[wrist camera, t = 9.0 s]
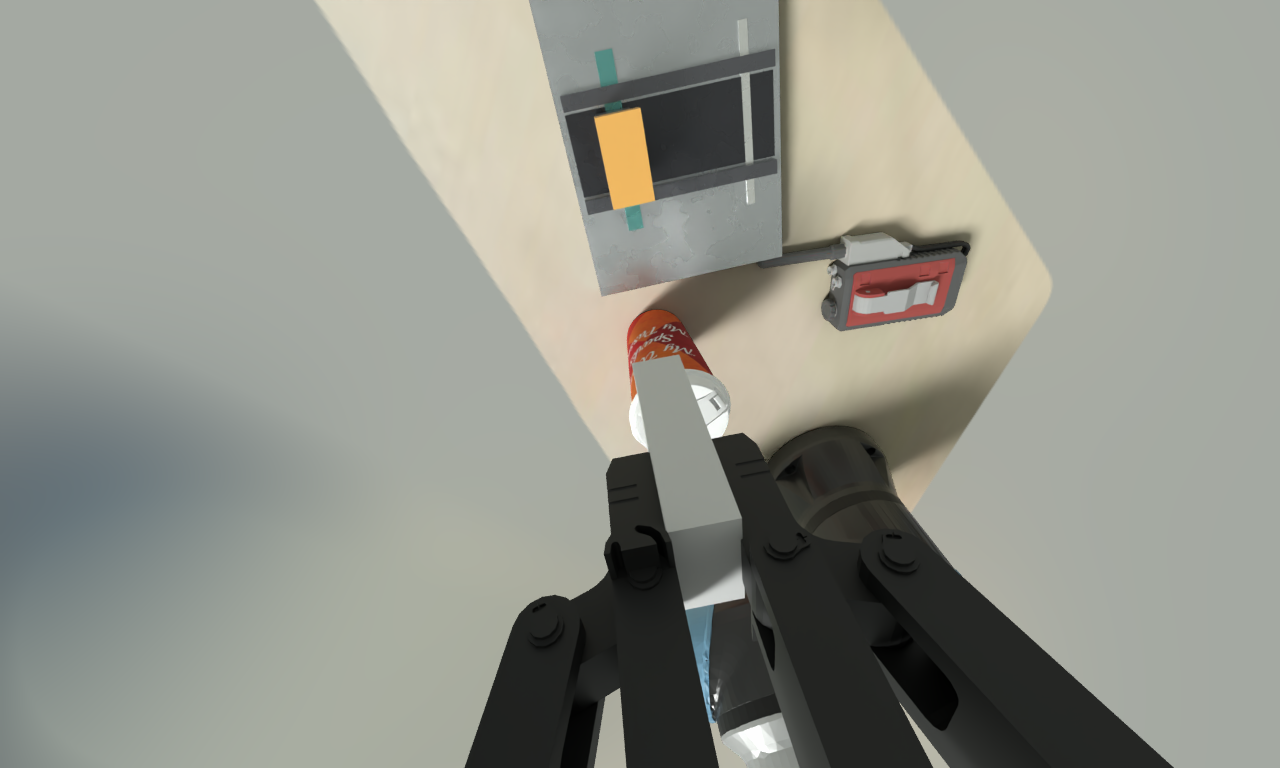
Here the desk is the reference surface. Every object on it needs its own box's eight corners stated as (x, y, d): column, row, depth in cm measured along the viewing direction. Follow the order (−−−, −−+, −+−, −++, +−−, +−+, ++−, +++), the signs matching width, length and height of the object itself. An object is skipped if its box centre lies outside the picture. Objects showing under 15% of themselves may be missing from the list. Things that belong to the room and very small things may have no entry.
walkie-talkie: (965, 216, 44) (753, 246, 43) (1001, 229, 40) (770, 262, 39) (941, 303, 48) (750, 332, 48) (972, 322, 45) (765, 354, 44)
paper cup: (667, 282, 43) (703, 359, 32) (708, 341, 47) (752, 429, 35) (598, 329, 45) (608, 418, 33) (643, 383, 49) (665, 479, 37)
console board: (774, 249, 43) (784, 258, 41) (600, 287, 43) (602, 299, 41) (766, -83, 30) (780, -95, 28) (523, -29, 30) (519, -37, 28)
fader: (643, 183, 36) (655, 200, 31) (607, 191, 36) (613, 210, 31) (630, 103, 33) (640, 107, 28) (591, 111, 33) (594, 117, 28)
